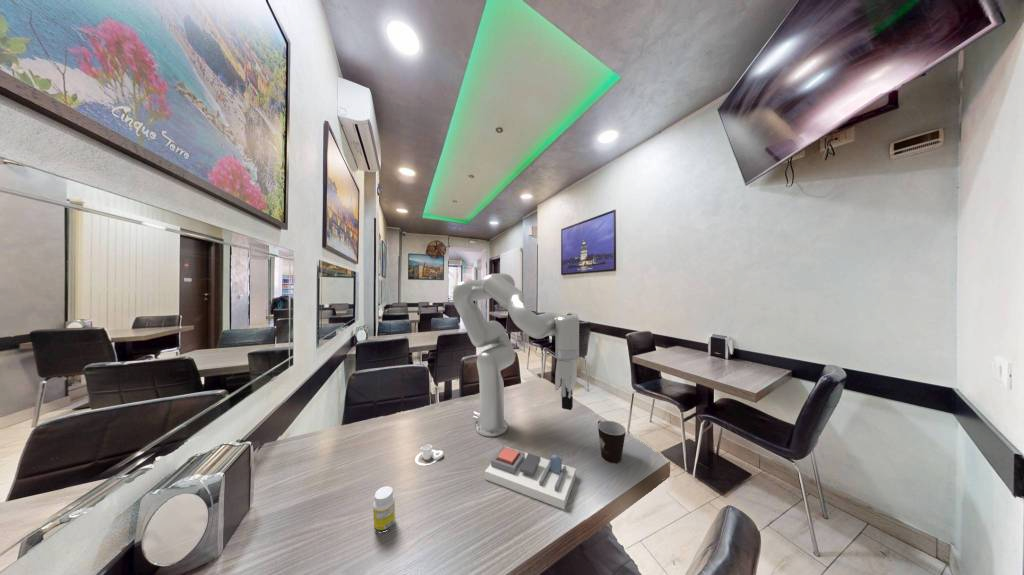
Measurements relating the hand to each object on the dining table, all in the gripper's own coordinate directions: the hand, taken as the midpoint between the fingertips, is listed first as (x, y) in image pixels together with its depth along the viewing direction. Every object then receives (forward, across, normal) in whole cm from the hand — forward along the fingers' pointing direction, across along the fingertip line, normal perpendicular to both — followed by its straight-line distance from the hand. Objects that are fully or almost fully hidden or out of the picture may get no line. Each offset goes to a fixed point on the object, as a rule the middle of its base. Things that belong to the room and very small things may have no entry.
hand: (567, 408), depth 91 cm
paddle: (+14, +11, 0) cm, 18 cm away
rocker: (+12, +14, -7) cm, 20 cm away
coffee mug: (+17, -8, +13) cm, 23 cm away
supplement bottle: (+17, +44, -33) cm, 58 cm away
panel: (+17, +14, -7) cm, 23 cm away
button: (+14, +14, -15) cm, 24 cm away
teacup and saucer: (+17, +22, -39) cm, 48 cm away
